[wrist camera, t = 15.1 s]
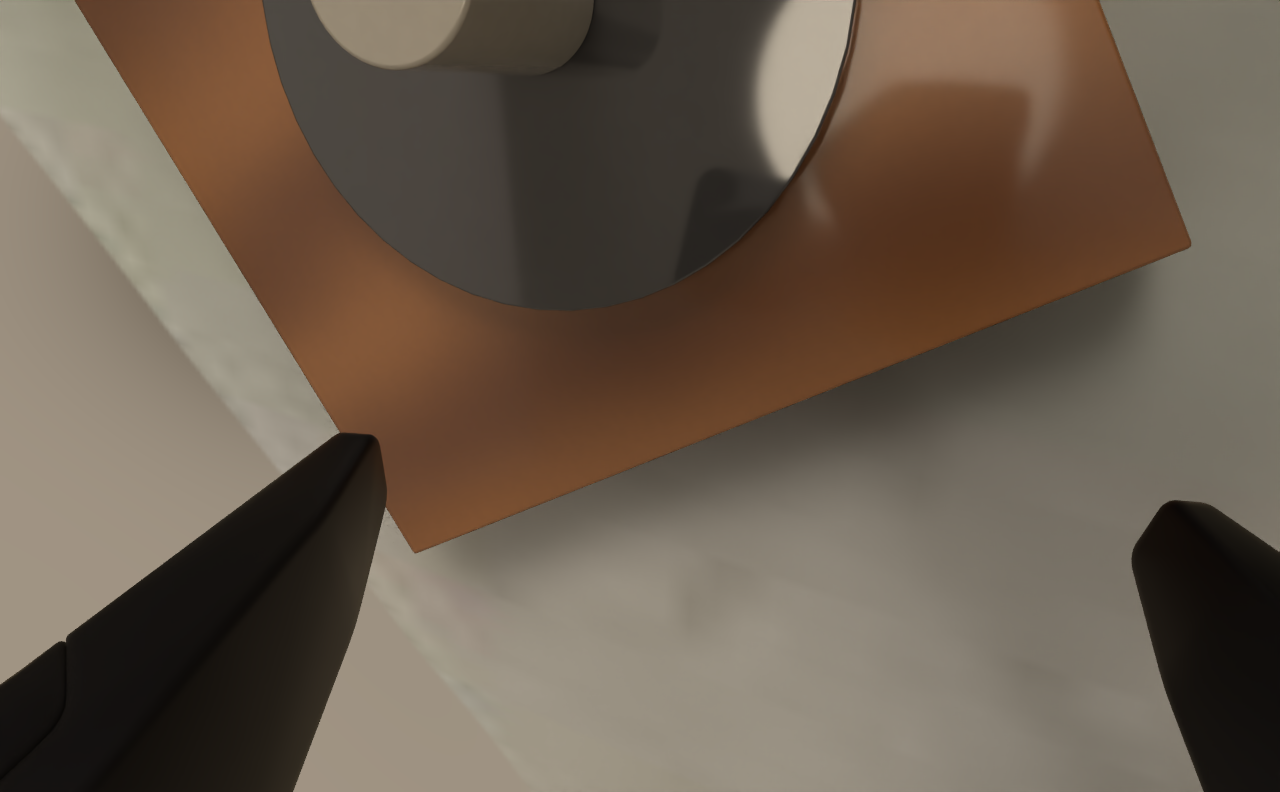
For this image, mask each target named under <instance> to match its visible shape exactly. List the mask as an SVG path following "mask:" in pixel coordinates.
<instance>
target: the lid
mask: <svg viewBox="0 0 1280 792" xmlns="http://www.w3.org/2000/svg"><path fill="white" fill-rule="evenodd" d="M262 4H263V9H264V14H265V20H266V25H267V31H268V36H269V42H270V46H271V50H272V53H273V57H274V60H275V64H276V67H277V71H278V74H279V77H280V81H281V84H282V87H283V89H284V92H285V94H286V97H287V99H288V102H289V104H290V107H291V109H292V112H293V114H294V117H295V120H296V122H297V124H298V126H299V127H300V129H301V131H302V133H303V135H304V137H305V139H306V141H307V143H308V145H309V147H310V149H311V151H312V153H313V155H314V156H315V158H316V159H317V161H318V162H319V164H320V165H321V167H322V168H323V170H324V172H325V173H326V175H327V176H328V178H329V179H330V181H331V182H332V184H333V185H334V187H335V188H336V189H337V190H338V192H339V193H340V194H341V195H342V197H343V198H344V199H345V200H346V202H347V203H348V204H349V205H350V206H351V208H352V209H353V210H354V211H355V213H356V214H357V215H358V216H359V217H360V218H361V219H362V220H363V221H364V222H365V223H366V224H367V225H368V226H369V227H370V228H371V229H372V230H373V231H374V232H375V233H376V234H377V235H378V236H379V237H380V238H381V239H382V240H383V241H385V242H386V243H387V244H388V245H390V246H391V247H392V248H393V249H395V250H396V251H397V252H399V253H400V254H401V255H402V256H404V257H405V258H406V259H407V260H409V261H410V262H411V263H413V264H415V265H416V266H418V267H420V268H421V269H423V270H425V271H426V272H428V273H429V274H431V275H433V276H434V277H436V278H438V279H439V280H441V281H443V282H446V283H448V284H450V285H452V286H454V287H457V288H459V289H461V290H463V291H465V292H468V293H470V294H472V295H475V296H479V297H482V298H485V299H488V300H492V301H495V302H498V303H502V304H505V305H511V306H517V307H523V308H529V309H535V310H554V311H577V310H586V309H595V308H604V307H610V306H614V305H618V304H622V303H626V302H629V301H633V300H637V299H641V298H644V297H646V296H649V295H651V294H653V293H656V292H658V291H661V290H663V289H666V288H668V287H671V286H673V285H675V284H677V283H679V282H681V281H682V280H684V279H686V278H687V277H689V276H691V275H693V274H694V273H696V272H698V271H699V270H701V269H703V268H705V267H706V266H708V265H709V264H711V263H712V262H713V261H715V260H716V259H717V258H718V257H720V256H721V255H722V254H723V253H725V252H726V251H727V250H729V249H730V248H731V247H732V246H734V245H735V244H736V243H738V242H739V241H740V240H741V239H742V238H743V237H744V236H745V235H746V234H747V233H748V232H749V231H750V230H751V229H752V228H753V227H754V226H755V225H756V224H757V223H758V222H759V221H760V220H761V219H762V218H763V217H764V216H765V215H766V214H767V213H768V212H769V211H770V210H771V209H772V207H773V206H774V205H775V203H776V202H777V201H778V199H779V198H780V197H781V195H782V194H783V193H784V191H785V190H786V189H787V188H788V186H789V185H790V184H791V182H792V181H793V180H794V178H795V177H796V176H797V174H798V172H799V171H800V169H801V167H802V165H803V164H804V162H805V160H806V158H807V157H808V155H809V153H810V152H811V150H812V148H813V146H814V145H815V143H816V141H817V139H818V138H819V136H820V133H821V131H822V129H823V126H824V124H825V122H826V119H827V117H828V114H829V112H830V110H831V107H832V105H833V103H834V100H835V98H836V96H837V93H838V89H839V86H840V82H841V79H842V75H843V72H844V69H845V65H846V62H847V58H848V55H849V51H850V48H851V42H852V35H853V29H854V23H855V17H856V11H857V4H858V0H262Z"/></svg>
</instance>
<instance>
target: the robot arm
mask: <svg viewBox="0 0 1280 792" xmlns="http://www.w3.org/2000/svg"><path fill="white" fill-rule="evenodd" d="M386 500H387V484H386V478H385V472H384V466H383V460H382V454H381V448H380V444H379V441H378V439H377V438H376V437H375V436H373V435H371V434H360V433H348V432H343V433H339V434H337V435H335V436H333V437H332V438H331V439H329V440H328V441H327V442H325V443H324V444H323V445H321V446H320V447H319V448H317V449H316V450H315V451H313V452H312V453H311V454H309V455H308V456H307V457H305V458H304V459H303V460H301V461H300V462H299V463H297V464H296V465H295V466H293V467H292V468H291V469H289V470H288V471H287V472H285V473H284V474H282V475H281V476H280V477H279V478H277V479H276V480H274V481H273V482H272V483H270V484H269V485H268V486H266V487H265V488H264V489H262V490H261V491H260V492H258V493H257V494H256V495H254V496H253V497H252V498H250V499H249V500H248V501H246V502H245V503H244V504H242V505H241V506H240V507H239V508H237V509H236V510H234V511H233V512H232V513H231V514H229V515H228V516H226V517H225V518H224V519H222V520H221V521H220V522H218V523H217V524H216V525H214V526H213V527H212V528H210V529H209V530H208V531H206V532H205V533H204V534H202V535H201V536H200V537H198V538H197V539H196V540H194V541H193V542H192V543H190V544H189V545H188V546H186V547H185V548H184V549H182V550H181V551H180V552H178V553H177V554H176V555H174V556H173V557H172V558H170V559H169V560H168V561H166V562H165V563H164V564H163V565H161V566H160V567H158V568H157V569H156V570H154V571H153V572H151V573H150V574H149V575H148V576H146V577H145V578H143V579H142V580H141V581H139V582H138V583H137V584H136V585H134V586H133V587H131V588H130V589H129V590H127V591H126V592H125V593H123V594H122V595H121V596H120V597H118V598H117V599H115V600H114V601H113V602H111V603H110V604H109V605H107V606H106V607H105V608H103V609H102V610H101V611H99V612H98V613H97V614H95V615H94V616H93V617H92V618H90V619H89V620H87V621H86V622H85V623H83V624H82V625H81V626H79V627H78V628H77V629H75V630H74V631H73V632H71V633H70V634H69V635H68V636H67V638H66V643H65V642H62V641H61V642H58V643H56V644H55V645H53V646H52V647H51V648H50V649H48V650H47V651H45V652H44V653H43V654H41V655H40V656H39V657H37V658H36V659H35V660H33V661H32V662H31V663H29V664H28V665H27V666H26V667H24V668H23V669H21V670H20V671H19V672H17V673H16V674H14V675H13V676H12V677H10V678H9V679H7V680H6V681H5V682H3V683H2V684H0V792H293V790H294V788H295V785H296V782H297V780H298V777H299V774H300V772H301V769H302V766H303V764H304V761H305V758H306V756H307V753H308V751H309V748H310V745H311V743H312V740H313V738H314V735H315V732H316V730H317V727H318V724H319V722H320V719H321V717H322V714H323V711H324V709H325V706H326V703H327V701H328V698H329V695H330V693H331V690H332V687H333V685H334V682H335V680H336V677H337V674H338V672H339V669H340V667H341V664H342V661H343V659H344V656H345V653H346V651H347V648H348V646H349V643H350V640H351V637H352V634H353V631H354V628H355V625H356V622H357V618H358V614H359V611H360V607H361V603H362V599H363V595H364V591H365V587H366V583H367V579H368V575H369V571H370V567H371V563H372V559H373V555H374V551H375V547H376V543H377V539H378V535H379V531H380V527H381V523H382V519H383V515H384V511H385V506H386ZM1131 560H1132V570H1133V573H1134V577H1135V581H1136V585H1137V588H1138V592H1139V596H1140V600H1141V604H1142V607H1143V611H1144V615H1145V619H1146V622H1147V626H1148V630H1149V634H1150V637H1151V641H1152V645H1153V649H1154V653H1155V656H1156V660H1157V664H1158V668H1159V671H1160V674H1161V678H1162V681H1163V684H1164V688H1165V691H1166V694H1167V696H1168V699H1169V702H1170V705H1171V708H1172V710H1173V713H1174V716H1175V718H1176V721H1177V723H1178V726H1179V729H1180V731H1181V734H1182V737H1183V739H1184V742H1185V744H1186V747H1187V750H1188V752H1189V755H1190V757H1191V760H1192V763H1193V765H1194V768H1195V770H1196V773H1197V776H1198V778H1199V781H1200V783H1201V786H1202V789H1203V791H1204V792H1280V552H1278V551H1277V550H1275V549H1274V548H1272V547H1271V546H1270V545H1268V544H1267V543H1265V542H1264V541H1262V540H1261V539H1259V538H1258V537H1257V536H1255V535H1254V534H1252V533H1251V532H1249V531H1248V530H1246V529H1245V528H1244V527H1242V526H1241V525H1239V524H1238V523H1236V522H1235V521H1233V520H1232V519H1230V518H1229V517H1228V516H1226V515H1225V514H1223V513H1222V512H1220V511H1219V510H1217V509H1216V508H1215V507H1213V506H1211V505H1209V504H1206V503H1202V502H1190V501H1178V500H1173V501H1169V502H1167V503H1165V504H1164V505H1162V506H1161V508H1160V509H1159V510H1158V512H1157V513H1156V515H1155V516H1154V518H1153V519H1152V521H1151V522H1150V524H1149V525H1148V526H1147V528H1146V529H1145V531H1144V532H1143V534H1142V535H1141V537H1140V538H1139V540H1138V541H1137V543H1136V544H1135V546H1134V549H1133V552H1132V559H1131Z"/></svg>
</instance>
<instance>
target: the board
mask: <svg viewBox="0 0 1280 792" xmlns="http://www.w3.org/2000/svg"><path fill="white" fill-rule="evenodd" d="M75 2H76V4H77V5H78V7H79V9H80V10H81V12H82V13H83V15H84V17H85V18H86V20H87V22H88V23H89V25H90V26H91V28H92V30H93V31H94V33H95V35H96V36H97V38H98V39H99V41H100V43H101V44H102V46H103V48H104V49H105V51H106V52H107V54H108V56H109V57H110V59H111V61H112V62H113V64H114V65H115V67H116V69H117V70H118V72H119V74H120V75H121V77H122V78H123V80H124V82H125V83H126V85H127V87H128V88H129V90H130V92H131V93H132V95H133V96H134V98H135V100H136V101H137V103H138V105H139V106H140V108H141V109H142V111H143V113H144V114H145V116H146V118H147V119H148V121H149V122H150V124H151V126H152V127H153V129H154V131H155V132H156V134H157V135H158V137H159V139H160V140H161V142H162V144H163V145H164V147H165V148H166V150H167V152H168V153H169V155H170V157H171V158H172V160H173V161H174V163H175V165H176V166H177V168H178V170H179V171H180V173H181V175H182V176H183V178H184V179H185V181H186V183H187V184H188V186H189V188H190V189H191V191H192V192H193V194H194V196H195V197H196V199H197V201H198V202H199V204H200V205H201V207H202V209H203V210H204V212H205V214H206V215H207V217H208V218H209V220H210V222H211V223H212V225H213V227H214V228H215V230H216V231H217V233H218V235H219V236H220V238H221V240H222V241H223V243H224V244H225V246H226V248H227V249H228V251H229V253H230V254H231V256H232V258H233V259H234V261H235V262H236V264H237V266H238V267H239V269H240V271H241V272H242V274H243V275H244V277H245V279H246V280H247V282H248V284H249V285H250V287H251V288H252V290H253V292H254V293H255V295H256V297H257V298H258V300H259V301H260V303H261V305H262V306H263V308H264V310H265V311H266V313H267V314H268V316H269V318H270V319H271V321H272V323H273V324H274V326H275V327H276V329H277V331H278V332H279V334H280V336H281V337H282V339H283V341H284V342H285V344H286V345H287V347H288V349H289V350H290V352H291V354H292V355H293V357H294V358H295V360H296V362H297V363H298V365H299V367H300V368H301V370H302V371H303V373H304V375H305V376H306V378H307V380H308V381H309V383H310V384H311V386H312V388H313V389H314V391H315V393H316V394H317V396H318V397H319V399H320V401H321V402H322V404H323V406H324V407H325V409H326V410H327V412H328V414H329V415H330V417H331V419H332V420H333V422H334V424H335V425H336V427H337V428H338V430H339V432H340V433H343V432H348V433H360V434H371V435H373V436H375V437H376V438H377V439H378V441H379V444H380V448H381V454H382V460H383V466H384V472H385V478H386V484H387V500H386V506H385V507H386V508H387V510H388V511H389V513H390V515H391V516H392V518H393V520H394V521H395V523H396V524H397V526H398V528H399V529H400V531H401V533H402V534H403V536H404V537H405V539H406V541H407V542H408V544H409V546H410V547H411V549H412V550H413V552H414V553H418V552H421V551H424V550H426V549H429V548H431V547H434V546H436V545H439V544H441V543H444V542H446V541H449V540H451V539H454V538H456V537H459V536H461V535H464V534H467V533H469V532H472V531H474V530H477V529H479V528H482V527H484V526H487V525H489V524H492V523H494V522H497V521H499V520H502V519H505V518H507V517H510V516H512V515H515V514H517V513H520V512H522V511H525V510H527V509H530V508H532V507H535V506H537V505H540V504H542V503H545V502H548V501H550V500H553V499H555V498H558V497H560V496H563V495H565V494H568V493H570V492H573V491H575V490H578V489H580V488H583V487H586V486H588V485H591V484H593V483H596V482H598V481H601V480H603V479H606V478H608V477H611V476H613V475H616V474H618V473H621V472H623V471H626V470H629V469H631V468H634V467H636V466H639V465H641V464H644V463H646V462H649V461H651V460H654V459H656V458H659V457H661V456H664V455H667V454H669V453H672V452H674V451H677V450H679V449H682V448H684V447H687V446H689V445H692V444H694V443H697V442H699V441H702V440H704V439H707V438H710V437H712V436H715V435H717V434H720V433H722V432H725V431H727V430H730V429H732V428H735V427H737V426H740V425H742V424H745V423H748V422H750V421H753V420H755V419H758V418H760V417H763V416H765V415H768V414H770V413H773V412H775V411H778V410H780V409H783V408H785V407H788V406H791V405H793V404H796V403H798V402H801V401H803V400H806V399H808V398H811V397H813V396H816V395H818V394H821V393H823V392H826V391H829V390H831V389H834V388H836V387H839V386H841V385H844V384H846V383H849V382H851V381H854V380H856V379H859V378H861V377H864V376H866V375H869V374H872V373H874V372H877V371H879V370H882V369H884V368H887V367H889V366H892V365H894V364H897V363H899V362H902V361H904V360H907V359H910V358H912V357H915V356H917V355H920V354H922V353H925V352H927V351H930V350H932V349H935V348H937V347H940V346H942V345H945V344H947V343H950V342H953V341H955V340H958V339H960V338H963V337H965V336H968V335H970V334H973V333H975V332H978V331H980V330H983V329H985V328H988V327H991V326H993V325H996V324H998V323H1001V322H1003V321H1006V320H1008V319H1011V318H1013V317H1016V316H1018V315H1021V314H1023V313H1026V312H1028V311H1031V310H1034V309H1036V308H1039V307H1041V306H1044V305H1046V304H1049V303H1051V302H1054V301H1056V300H1059V299H1061V298H1064V297H1066V296H1069V295H1072V294H1074V293H1077V292H1079V291H1082V290H1084V289H1087V288H1089V287H1092V286H1094V285H1097V284H1099V283H1102V282H1104V281H1107V280H1109V279H1112V278H1115V277H1117V276H1120V275H1122V274H1125V273H1127V272H1130V271H1132V270H1135V269H1137V268H1140V267H1142V266H1145V265H1147V264H1150V263H1153V262H1155V261H1158V260H1160V259H1163V258H1165V257H1168V256H1170V255H1173V254H1175V253H1178V252H1180V251H1183V250H1185V249H1188V248H1189V247H1190V246H1191V239H1190V237H1189V234H1188V232H1187V229H1186V226H1185V224H1184V221H1183V219H1182V216H1181V213H1180V211H1179V208H1178V205H1177V203H1176V200H1175V198H1174V195H1173V192H1172V190H1171V187H1170V185H1169V182H1168V179H1167V177H1166V174H1165V172H1164V169H1163V166H1162V164H1161V161H1160V158H1159V156H1158V153H1157V151H1156V148H1155V145H1154V143H1153V140H1152V138H1151V135H1150V132H1149V130H1148V127H1147V124H1146V122H1145V119H1144V117H1143V114H1142V111H1141V109H1140V106H1139V104H1138V101H1137V98H1136V96H1135V93H1134V90H1133V88H1132V85H1131V83H1130V80H1129V77H1128V75H1127V72H1126V70H1125V67H1124V64H1123V62H1122V59H1121V57H1120V54H1119V51H1118V49H1117V46H1116V43H1115V41H1114V38H1113V36H1112V33H1111V30H1110V28H1109V25H1108V23H1107V20H1106V17H1105V15H1104V12H1103V9H1102V7H1101V4H1100V2H1099V0H858V4H857V11H856V17H855V23H854V29H853V35H852V42H851V48H850V51H849V55H848V58H847V62H846V65H845V69H844V72H843V75H842V79H841V82H840V86H839V89H838V93H837V96H836V98H835V100H834V103H833V105H832V107H831V110H830V112H829V114H828V117H827V119H826V122H825V124H824V126H823V129H822V131H821V133H820V136H819V138H818V139H817V141H816V143H815V145H814V146H813V148H812V150H811V152H810V153H809V155H808V157H807V158H806V160H805V162H804V164H803V165H802V167H801V169H800V171H799V172H798V174H797V176H796V177H795V178H794V180H793V181H792V182H791V184H790V185H789V186H788V188H787V189H786V190H785V191H784V193H783V194H782V195H781V197H780V198H779V199H778V201H777V202H776V203H775V205H774V206H773V207H772V209H771V210H770V211H769V212H768V213H767V214H766V215H765V216H764V217H763V218H762V219H761V220H760V221H759V222H758V223H757V224H756V225H755V226H754V227H753V228H752V229H751V230H750V231H749V232H748V233H747V234H746V235H745V236H744V237H743V238H742V239H741V240H740V241H739V242H738V243H736V244H735V245H734V246H732V247H731V248H730V249H729V250H727V251H726V252H725V253H723V254H722V255H721V256H720V257H718V258H717V259H716V260H715V261H713V262H712V263H711V264H709V265H708V266H706V267H705V268H703V269H701V270H699V271H698V272H696V273H694V274H693V275H691V276H689V277H687V278H686V279H684V280H682V281H681V282H679V283H677V284H675V285H673V286H671V287H668V288H666V289H663V290H661V291H658V292H656V293H653V294H651V295H649V296H646V297H644V298H641V299H637V300H633V301H629V302H626V303H622V304H618V305H614V306H610V307H604V308H595V309H586V310H577V311H554V310H535V309H529V308H523V307H517V306H511V305H505V304H502V303H498V302H495V301H492V300H488V299H485V298H482V297H479V296H475V295H472V294H470V293H468V292H465V291H463V290H461V289H459V288H457V287H454V286H452V285H450V284H448V283H446V282H443V281H441V280H439V279H438V278H436V277H434V276H433V275H431V274H429V273H428V272H426V271H425V270H423V269H421V268H420V267H418V266H416V265H415V264H413V263H411V262H410V261H409V260H407V259H406V258H405V257H404V256H402V255H401V254H400V253H399V252H397V251H396V250H395V249H393V248H392V247H391V246H390V245H388V244H387V243H386V242H385V241H383V240H382V239H381V238H380V237H379V236H378V235H377V234H376V233H375V232H374V231H373V230H372V229H371V228H370V227H369V226H368V225H367V224H366V223H365V222H364V221H363V220H362V219H361V218H360V217H359V216H358V215H357V214H356V213H355V211H354V210H353V209H352V208H351V206H350V205H349V204H348V203H347V202H346V200H345V199H344V198H343V197H342V195H341V194H340V193H339V192H338V190H337V189H336V188H335V187H334V185H333V184H332V182H331V181H330V179H329V178H328V176H327V175H326V173H325V172H324V170H323V168H322V167H321V165H320V164H319V162H318V161H317V159H316V158H315V156H314V155H313V153H312V151H311V149H310V147H309V145H308V143H307V141H306V139H305V137H304V135H303V133H302V131H301V129H300V127H299V126H298V124H297V122H296V120H295V117H294V114H293V112H292V109H291V107H290V104H289V102H288V99H287V97H286V94H285V92H284V89H283V87H282V84H281V81H280V77H279V74H278V71H277V67H276V64H275V60H274V57H273V53H272V50H271V46H270V42H269V36H268V31H267V25H266V20H265V14H264V9H263V4H262V0H75Z"/></svg>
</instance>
